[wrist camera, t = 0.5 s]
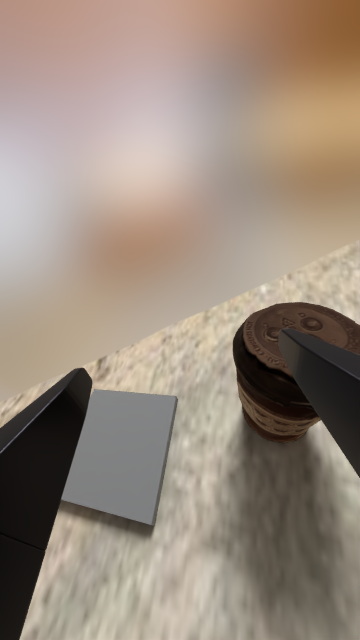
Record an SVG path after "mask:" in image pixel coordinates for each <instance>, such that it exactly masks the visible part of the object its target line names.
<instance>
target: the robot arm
mask: <svg viewBox="0 0 360 640" xmlns="http://www.w3.org/2000/svg"><path fill="white" fill-rule="evenodd" d="M278 346H279V349H280V351H281V353H282V355H283V357H284V359H285V361H286V363H287V365H288V367H289V369H290V371H291V373H292V375H293V377H294V379H295V380H296V382H297V384H298V385H299V387H300V388H301V390H302V391H303V393H304V394H305V396H306V397H307V399H308V400H309V402H310V403H311V405H312V406H313V408H314V409H315V411H316V412H317V414H318V415H319V417H320V418H321V420H322V422H323V423H324V425H325V426H326V428H327V429H328V431H329V432H330V434H331V435H332V437H333V438H334V440H335V441H336V443H337V444H338V446H339V447H340V449H341V450H342V452H343V453H344V455H345V456H346V458H347V459H348V461H349V462H350V464H351V465H352V467H353V468H354V470H355V471H356V473H357V474H358V476H359V478H360V355H359V354H356V353H354V352H351V351H348V350H346V349H343V348H341V347H338V346H336V345H333V344H331V343H328V342H325V341H323V340H320V339H318V338H315V337H313V336H310V335H308V334H305V333H302V332H300V331H297V330H295V329H292V328H285V329H281V330H280V331H279V342H278ZM91 389H92V379H91V377H90V376H89V374H88V373H87V371H86V370H85V369H84V368H77V369H74V370H72V371H71V372H70V373H69V374H67V375H66V376H65V377H64V378H62V379H61V380H60V381H59V382H57V383H56V384H55V385H54V386H52V387H51V388H50V389H49V390H47V391H46V392H45V393H44V394H42V395H41V396H40V397H39V398H37V399H36V400H35V401H34V402H32V403H31V404H30V405H29V406H27V407H26V408H25V409H24V410H22V411H21V412H20V413H19V414H17V415H16V416H15V417H14V418H12V419H11V420H10V421H9V422H7V423H6V424H5V425H4V426H3V427H1V428H0V640H19V639H20V636H21V633H22V629H23V626H24V623H25V619H26V616H27V613H28V609H29V606H30V602H31V599H32V596H33V592H34V589H35V586H36V582H37V579H38V576H39V572H40V569H41V566H42V562H43V559H44V556H45V550H46V548H47V545H48V542H49V538H50V535H51V532H52V528H53V525H54V522H55V518H56V515H57V512H58V508H59V505H60V502H61V498H62V495H63V492H64V488H65V485H66V482H67V478H68V475H69V472H70V468H71V465H72V462H73V458H74V455H75V451H76V448H77V445H78V441H79V438H80V435H81V431H82V428H83V425H84V421H85V418H86V414H87V409H88V404H89V399H90V394H91Z"/></svg>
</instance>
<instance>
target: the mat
mask: <svg viewBox="0 0 360 640" xmlns="http://www.w3.org/2000/svg"><path fill="white" fill-rule="evenodd" d="M177 402H178V399H177V397H176V396H169V395H157V394H145V393H133V392H121V391H109V390H97V389H94V391H93V393H92V395H91V397H90V399H89V404H88V409H87V414H86V418H85V421H84V425H83V428H82V431H81V435H80V438H79V441H78V445H77V448H76V451H75V455H74V458H73V462H72V465H71V468H70V472H69V475H68V478H67V482H66V485H65V488H64V492H63V495H62V498H61V500H64V501H68V502H71V503H75V504H78V505H82V506H85V507H89V508H93V509H96V510H100V511H103V512H107V513H110V514H114V515H117V516H121V517H125V518H128V519H132V520H135V521H139V522H142V523H146V524H149V525H155V521H156V516H157V510H158V505H159V500H160V494H161V489H162V483H163V478H164V472H165V467H166V461H167V456H168V451H169V445H170V440H171V434H172V429H173V423H174V418H175V412H176V407H177Z"/></svg>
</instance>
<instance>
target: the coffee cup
mask: <svg viewBox="0 0 360 640" xmlns="http://www.w3.org/2000/svg"><path fill="white" fill-rule="evenodd" d="M285 328H292V329H295V330H297V331H300V332H302V333H305V334H308V335H310V336H313V337H315V338H318V339H320V340H323V341H325V342H328V343H331V344H333V345H336V346H338V347H341V348H343V349H346V350H348V351H351V352H354V353H356V354H359V355H360V325H358V324H356V323H355V321H353V320H351V319H350V318H348V317H346V316H344V315H342V314H341V313H338V312H336V311H335V310H333V309H329V308H327V307H323V306H321V305H315V304H309V303H303V302H295V303H292V302H291V303H281V304H275V305H273V306H270V307H268V308H265V309H262V310H260V311H257V312H255V313H253V314H252V315H250V316H249V317H248V318H247V319H246V320H245V322H244V323H243V324H242V325H241V326H240V328H239V329H238V331H237V332H236V334H235V337H234V339H233V357H234V362H235V365H236V370H237V384H238V391H239V398H240V400H241V403H242V408H243V412H244V416H245V419H246V421H247V422H248V424H249V425H250V426H251V428H252V429H253V430H254V431H256V432H257V433H258V434H259V435H261V436H262V437H263V438H265V439H268V440H271V441H274V442H289V441H295V440H297V439H298V438H299V437H300V436H302V435H304V434H305V433H306V431H307V429H308V428H309V427H311V426H312V425H314V424H315V423H317V422H318V421H320V420H321V418H320V417H319V415H318V414H317V412H316V411H315V409H314V408H313V406H312V405H311V403H310V402H309V400H308V399H307V397H306V396H305V394H304V393H303V391H302V390H301V388H300V387H299V385H298V384H297V382H296V380H295V379H294V377H293V375H292V373H291V371H290V369H289V367H288V365H287V363H286V361H285V359H284V357H283V355H282V353H281V351H280V349H279V346H278V342H279V331H280V330H281V329H285Z"/></svg>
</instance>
